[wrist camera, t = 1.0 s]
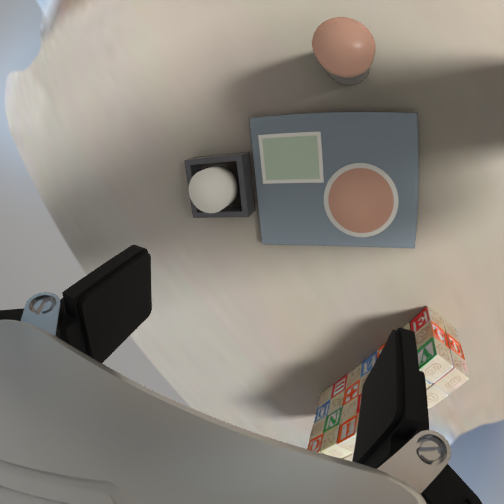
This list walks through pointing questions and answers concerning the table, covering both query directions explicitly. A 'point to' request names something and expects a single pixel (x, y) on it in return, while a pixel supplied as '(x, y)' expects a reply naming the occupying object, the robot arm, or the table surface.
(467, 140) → the table surface
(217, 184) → the button
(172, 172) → the table surface
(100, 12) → the table surface
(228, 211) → the button housing
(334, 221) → the picture board
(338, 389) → the stack of blocks
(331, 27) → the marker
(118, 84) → the table surface
